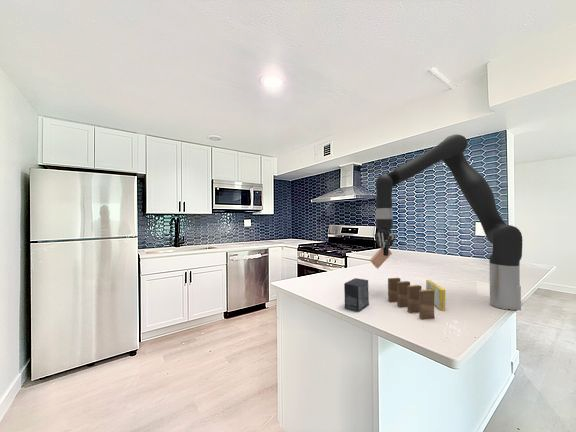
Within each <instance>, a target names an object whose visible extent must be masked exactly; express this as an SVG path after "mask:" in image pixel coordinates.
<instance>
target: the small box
mask: <svg viewBox="0 0 576 432" xmlns="http://www.w3.org/2000/svg"><path fill="white" fill-rule="evenodd" d="M343 284H344V287H343V288H344V290H343V291H344V309H345V310H350V311H353V312H357V313H360V312H361V311H363V310H364V309H365V308H366V307H368V306H369V305H370V299H369V296H370V295H369V279H366V278H365V279H364V278H357V277H356V278H355V277H354V278H353V279H351V280H349V281H346V282H344V283H343Z"/></svg>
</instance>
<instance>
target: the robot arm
mask: <svg viewBox="0 0 576 432" xmlns="http://www.w3.org/2000/svg"><path fill="white" fill-rule="evenodd" d="M467 146H468V140H467V137H465V136H464V135H462V134H451V135H449V136H447V137H446V138H445V139H444V140H442V141H441V142H440V143H438V144H437V145H436V146H434V147H433V148H430V149H429V150H428V151H426V152H424V153H421V154H420V155H418V156H416V157H414V158H413V159H411V160H409V161H407V162H405V163H403V164H401V165H399V166H398V167H395V168H394V169H393V170H392V171H391V172H388V173H387V174H381V175H379V176H378V177H377V178H376V181H375V188H376V199H375V228H376V229H377V233H374V239H375V241H376V244H377V246H379V247H380V249H381V248H382V247H384V248H383V250H384V256H388V254H389V253H388V249H389V248H391V247H392V246H393V244H394V241H395V239H396V235H393V234H392V229H393V228H394V214H393V198H392V194H393V188H394V187H395V186H397V185H398V184H400V183H402V182H405V181H407V180H409V179H411V178H413V177H415V176H417V175H419V174H420V173H422V172H423V171H426V169H428V168H429V167H431V166H433V165H434V164H437V163H438V162H441V161H443V162H444V164H445V165H446V167H447V168H448V169H449V170H450V172H451V174H452V176H453V178H454V179H455V182H456V183H457V185H458V188H459V189H460V190H461V192H462V195H463V196H464V198H465V199H466V201H467V203H468V204H469V206H470V208H471V210H472V211H473V212H474V214H475V215H476V218H478V221H479V223H480V224H481V228H482V230H483V232H484V235H485V236H486V238H487V241H488V242H490V243H491V244H492V251H491V252H492V253H491V254H490V256H489V265H488V266H489V305H491V306H493V307H496V308H498V309H503V310H508V309H510V310H509V311H522V297H521V296H522V286H521V283H520V281H521V280H520V277H521V275H520V273H521V272H520V271H521V270H520V269H521V268H520V265H521V264H520V263H521V260H522V256H523V235H522V232H521V230H520V229H519V228H518V227H517V226H514V225H512V224H511V225H510V224H507V223H506V222H505V221H504V219H503V218H502V217H501V215H500V213H499V211H498V209H497V206H496V199H495V198H496V197H495V195H494V192H493V190H492V188H491V186H490V185H489V183H488V181H487V180H486V179H485V177H484V176H483V175H482V174H481V173H480V172H478V171H477V170H476V169H475V168H473V166H471V164H470V163H469V162H468V160H467V158H466V156H465V154H464V152H465V151H466V149H467Z"/></svg>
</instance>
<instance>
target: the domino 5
mask: <svg viewBox="0 0 576 432" xmlns="http://www.w3.org/2000/svg"><path fill="white" fill-rule="evenodd" d="M418 314H419V315H418V316H419V319H421V320H430V319H435V305H434V290H431V289H429V290H426V289H421V290H419V312H418Z"/></svg>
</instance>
